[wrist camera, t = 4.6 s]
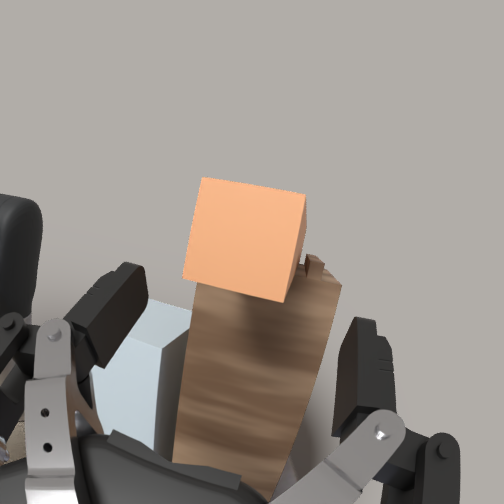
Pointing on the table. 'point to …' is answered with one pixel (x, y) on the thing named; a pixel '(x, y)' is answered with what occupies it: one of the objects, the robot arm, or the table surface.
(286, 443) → the tall post
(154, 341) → the short post
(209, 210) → the beam
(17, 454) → the table surface
